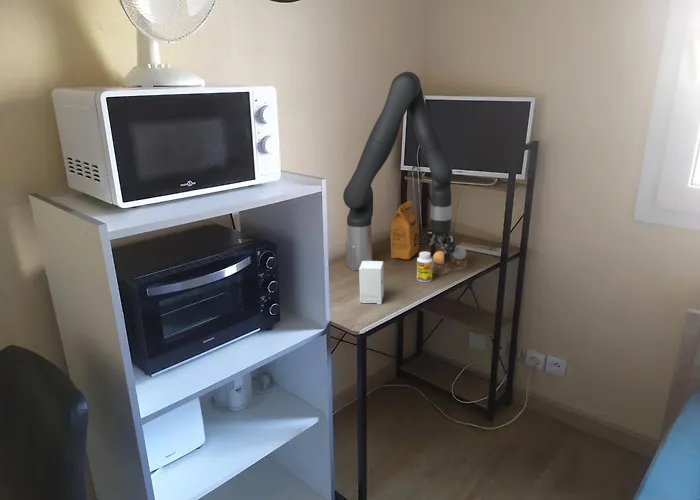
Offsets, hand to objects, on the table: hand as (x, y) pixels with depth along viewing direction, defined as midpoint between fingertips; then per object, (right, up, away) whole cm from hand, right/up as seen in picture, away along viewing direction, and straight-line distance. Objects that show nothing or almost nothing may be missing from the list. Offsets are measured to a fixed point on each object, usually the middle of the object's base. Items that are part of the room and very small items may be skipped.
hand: (439, 259), depth 201 cm
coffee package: (-11, +1, +19) cm, 22 cm away
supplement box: (-26, -13, -19) cm, 35 cm away
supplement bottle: (-6, -8, -5) cm, 11 cm away
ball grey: (+8, +2, +4) cm, 9 cm away
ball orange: (0, 0, 0) cm, 0 cm away
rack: (+4, -4, +4) cm, 7 cm away
